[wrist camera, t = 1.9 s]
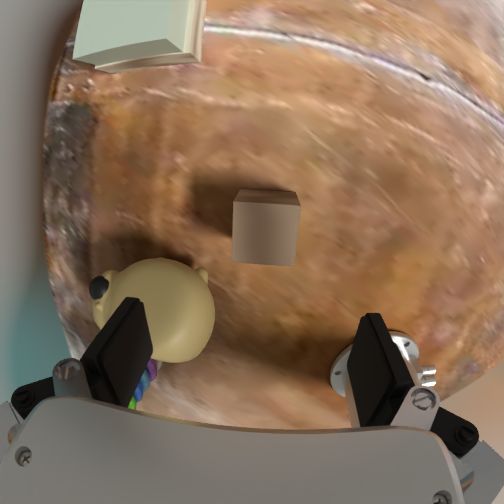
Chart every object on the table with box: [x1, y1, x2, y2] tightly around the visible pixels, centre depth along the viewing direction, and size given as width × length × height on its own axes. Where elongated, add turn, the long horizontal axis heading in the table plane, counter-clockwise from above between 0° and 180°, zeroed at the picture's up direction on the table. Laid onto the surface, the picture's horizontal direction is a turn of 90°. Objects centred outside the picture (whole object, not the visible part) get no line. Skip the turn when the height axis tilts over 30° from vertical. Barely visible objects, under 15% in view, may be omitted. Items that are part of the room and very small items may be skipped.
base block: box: [95, 0, 207, 74], centre depth 18 cm, size 9×9×4 cm
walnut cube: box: [232, 189, 301, 266], centre depth 24 cm, size 5×5×5 cm
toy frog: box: [89, 257, 215, 363], centre depth 25 cm, size 10×12×11 cm
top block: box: [73, 0, 190, 66], centre depth 14 cm, size 8×8×4 cm
